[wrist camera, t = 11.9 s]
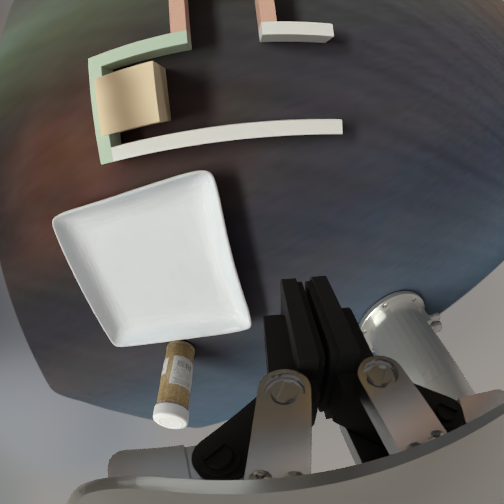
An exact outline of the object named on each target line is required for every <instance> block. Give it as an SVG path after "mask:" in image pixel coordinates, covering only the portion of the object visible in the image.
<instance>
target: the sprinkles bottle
mask: <svg viewBox="0 0 504 504" xmlns="http://www.w3.org/2000/svg"><path fill="white" fill-rule="evenodd" d="M194 355H195V349H194V347H193V346H192V345H191V344H189V343H188V342H185V341H182V340H176V341H171V342H170V343H169V344H168V345H167V353H166V357H165V361H164V365H163V370H162V375H161V381H160V389H159V393H158V399H157V403H156V405H155V407H154V412H153V419H154V421H155V422H156V423H158V424H159V425H161V426H163V427H166V428H171V429H181V428H184V427H186V426H187V425H188V420H189V412H188V405H189V396H190V391H191V382H192V372H193V359H194Z"/></svg>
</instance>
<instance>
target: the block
mask: <svg viewBox="0 0 504 504" xmlns="http://www.w3.org/2000/svg"><path fill="white" fill-rule="evenodd" d="M94 83H95V93H96V102H97V110H98V118H99V125H100V131H101V137H102V136H106V135H111V134H116V133H120V132H124V131H128V130H132V129H136V128H140V127H144V126H148V125H153V124H157V123H162V122H167V121H171V113H170V105H169V97H168V89H167V80H166V70H165V68H163V67H162V66H160V65H159V64H157V63H156V62H154V61H149V62H146V63H142V64H138V65H135V66H131V67H128V68H125V69H122V70H119V71H115V72H112V73H110V74H107V75H104V76H101V77H98V78H96V79H94Z"/></svg>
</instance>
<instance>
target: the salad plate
mask: <svg viewBox="0 0 504 504" xmlns="http://www.w3.org/2000/svg"><path fill="white" fill-rule="evenodd" d="M52 225H53V228H54V231H55V234H56V236H57V239H58V241H59V244H60V246H61V248H62V251H63V253H64V255H65V257H66V259H67V261H68V264H69V266H70V268H71V270H72V272H73V274H74V276H75V278H76V280H77V282H78V284H79V286H80V288H81V290H82V292H83V293H84V295H85V297H86V299H87V301H88V303H89V305H90V307H91V308H92V310H93V312H94V314H95V315H96V317H97V319H98V321H99V322H100V324H101V326H102V327H103V329H104V331H105V332H106V334H107V336H108V337H109V339H110V340H111V342H112V343H113V344H114V345H115V346H117V347H126V346H136V345H144V344H153V343H161V342H168V341H176V340H183V339H191V338H198V337H205V336H213V335H220V334H226V333H232V332H238V331H242V330H246V329H249V328H250V327H251V317H250V313H249V309H248V306H247V303H246V299H245V297H244V294H243V290H242V287H241V284H240V281H239V277H238V274H237V270H236V267H235V263H234V260H233V256H232V252H231V247H230V243H229V239H228V235H227V230H226V225H225V220H224V216H223V211H222V206H221V201H220V196H219V192H218V188H217V184H216V181H215V178H214V176H213V175H212V174H211V173H210V172H209V171H205V170H198V171H193V172H189V173H185V174H181V175H177V176H174V177H171V178H168V179H165V180H161V181H158V182H155V183H152V184H149V185H146V186H143V187H140V188H137V189H134V190H131V191H128V192H125V193H122V194H119V195H116V196H113V197H110V198H107V199H104V200H100V201H97V202H94V203H91V204H88V205H85V206H81V207H78V208H75V209H72V210H68V211H66V212H63V213H61V214H59V215H57V216H56V217H55V218H54V219H53V221H52Z"/></svg>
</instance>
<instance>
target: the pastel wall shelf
mask: <svg viewBox="0 0 504 504" xmlns="http://www.w3.org/2000/svg"><path fill="white" fill-rule="evenodd" d="M255 6H256V14H257V22H258V30H259V39H260V42H318V43H326V42H327V41H328V40H330V39H331V38H333V37H334V32H333V26H332V24H328V23H315V22H292V21H277V18H276V11H275V4H274V0H255ZM169 13H170V29H171V33H170V34H165V35H161V36H157V37H153V38H149V39H145V40H142V41H138V42H135V43H131V44H128V45H125V46H122V47H119V48H116V49H113V50H110V51H107V52H104V53H102V54H99V55H96V56H94V57H91V58H89V59H88V66H89V81H90V92H91V102H92V110H93V118H94V125H95V132H96V138H97V144H98V150H99V156H100V161H101V165H102V164H106V163H110V162H114V161H118V160H122V159H126V158H131V157H135V156H140V155H144V154H149V153H154V152H159V151H164V150H170V149H175V148H181V147H187V146H193V145H200V144H207V143H214V142H222V141H230V140H239V139H249V138H260V137H273V136H288V135H312V134H343V131H342V120H341V119H293V120H274V121H260V122H248V123H238V124H229V125H221V126H213V127H206V128H199V129H193V130H187V131H181V132H176V133H170V134H165V135H160V136H155V137H150V138H146V139H141V140H137V141H133V142H129V143H125V144H122V142H121V136H120V133H116V134H111V135H106V136H102V137H101V131H100V125H99V118H98V110H97V102H96V93H95V83H94V79H96V78H98V77H101V76H104V75H107V74H110V73H112V72H113V70H114V69H117V68H120V67H123V66H126V65H130V64H133V63H136V62H140V61H144V60H148V59H151V58H155V57H160V56H164V55H168V54H173V53H178V52H183V51H188V50H192V44H191V33H190V21H189V7H188V0H169Z"/></svg>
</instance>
